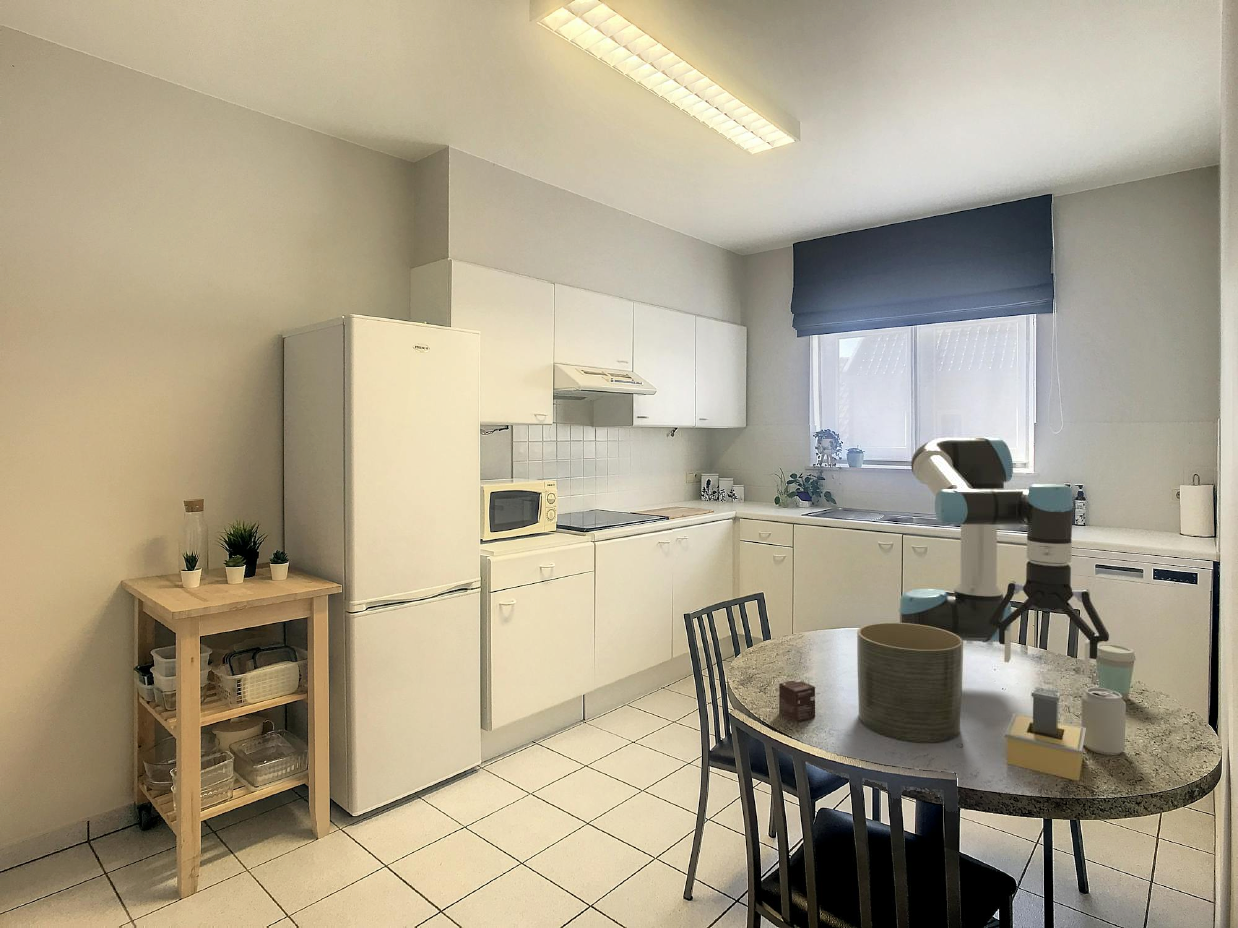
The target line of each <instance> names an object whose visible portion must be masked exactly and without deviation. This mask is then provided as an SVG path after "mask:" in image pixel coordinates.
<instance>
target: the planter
mask: <svg viewBox="0 0 1238 928" xmlns="http://www.w3.org/2000/svg"><path fill="white" fill-rule="evenodd" d="M856 634H857V635H856V637H857V638H856V639H857V644H856V646H857V647H856V649H857V650H856V651H857V652H856V653H857V654H856V655H857V656H856V657H857V662H856V665H857V691H858V692H857V694H858V696H857V697H858V698H857V699H858V717H859V721H860V722H861V723H862V724H863V725H864V726H865V727H866V728H867V729H869V730H871V731H873V732H875V733H876V734H880V735H882V736H885V737H888V738H892V739H894V740H895V739H896V740H899V741H900V740H901V741H904V742H913V743H923V744H924V743H927V744H928V743H929V744H931V743H932V744H933V743H942V742H947V741H950V740H952V739H955V738H956V737H958V736H959V734H960V731H961V713H962V698H963V697H962V695H963V693H962V692H963V674H964V672H963V669H964V668H963V667H964V664H963V663H964V641H963V640H962V638H960V637H959V636H958V635H956V634H954V633H951V632H949V631H946V630H942V629H939V628H935V627H930V626H924V625H917V624H908V623H900V622H879V623H878V622H877V623H870V624H869V623H868V624H866V625H863V626H861V627H859V628H858V629H857V632H856Z"/></svg>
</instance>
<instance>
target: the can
mask: <svg viewBox="0 0 1238 928" xmlns="http://www.w3.org/2000/svg"><path fill="white" fill-rule="evenodd" d="M1121 698H1122V695H1121V694H1119V693H1118V692H1115V691H1112V690H1109V689H1104V688H1099V687H1088V688H1086V689H1085V693H1084V694H1082V696H1081V720H1080V721H1081V722H1080V723H1081V724H1080V725H1081V726H1080V727H1084V728H1086V734H1085V739H1084V745H1083V746H1085V748H1087V749H1088V750H1090V751H1091V752H1094V753H1097V754H1099V755H1100V754H1101V755H1106V756H1118V755H1120V753H1123V752H1124V751H1126V750H1125V749H1126V719H1127V718H1126V717H1127V716H1126V715H1127V714H1126V713H1127V710H1126V709H1127V707H1126V706H1127V703H1126V702H1125V700H1122V699H1121Z"/></svg>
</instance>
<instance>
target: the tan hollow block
mask: <svg viewBox="0 0 1238 928" xmlns="http://www.w3.org/2000/svg"><path fill="white" fill-rule="evenodd" d="M1085 734H1086V728H1084V727H1081V726H1078V725H1074V724H1068V723H1064V722H1059V721H1058V739H1055V738H1050V737H1046V736H1041V735H1037V734H1033V716H1029V715H1025V714H1021V713H1015V712H1014V713H1013V714H1012V717H1011V718H1010V721H1009V723H1008V726H1007V728H1006V730H1005V732H1004V738H1006V765H1007V764H1009V765H1011V766H1016V767H1020V768H1024V769H1029V770H1032V771H1036V772H1040V773H1045V774H1048V775H1053V776H1056V777H1057V776H1058V777H1061V778H1065V779H1070V780H1074V781H1078V782H1080V777H1081V770H1082V766H1083V760H1084V746H1085V745H1084V739H1085Z"/></svg>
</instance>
